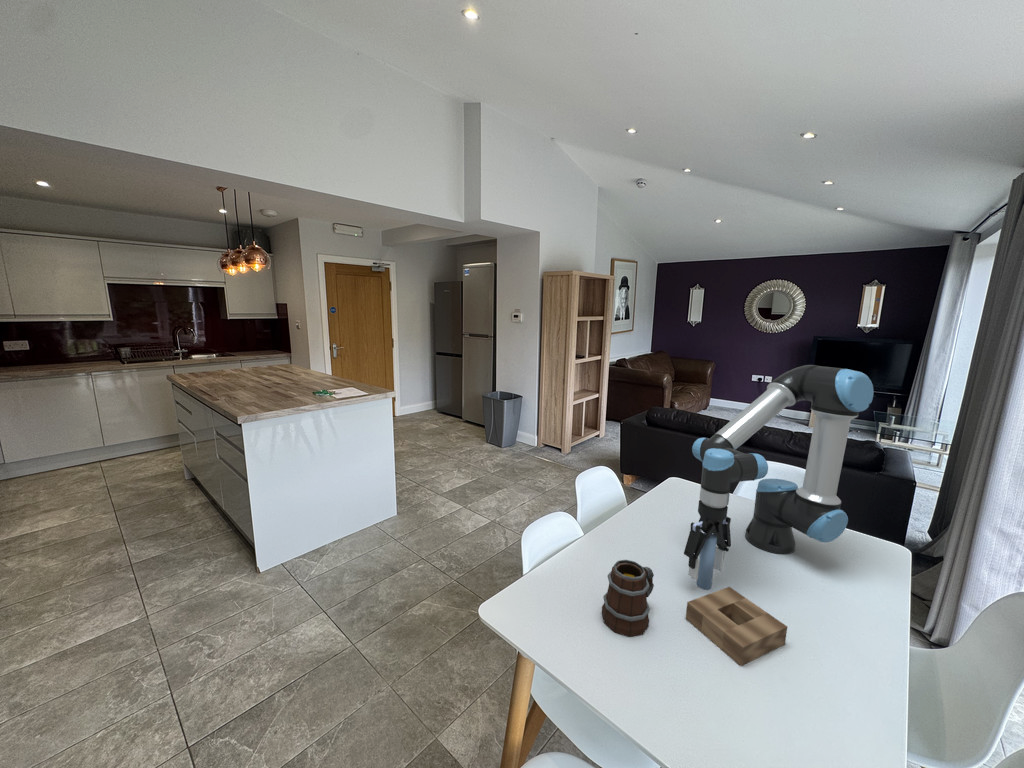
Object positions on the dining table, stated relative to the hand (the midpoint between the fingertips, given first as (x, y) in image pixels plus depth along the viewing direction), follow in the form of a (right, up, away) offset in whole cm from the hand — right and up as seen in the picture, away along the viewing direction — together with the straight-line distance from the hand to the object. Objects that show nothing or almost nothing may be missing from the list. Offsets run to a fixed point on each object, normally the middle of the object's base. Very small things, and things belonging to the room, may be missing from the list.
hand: (705, 572), depth 121 cm
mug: (-26, -6, -13) cm, 29 cm away
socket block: (-1, -7, -17) cm, 18 cm away
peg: (0, -4, +1) cm, 4 cm away
